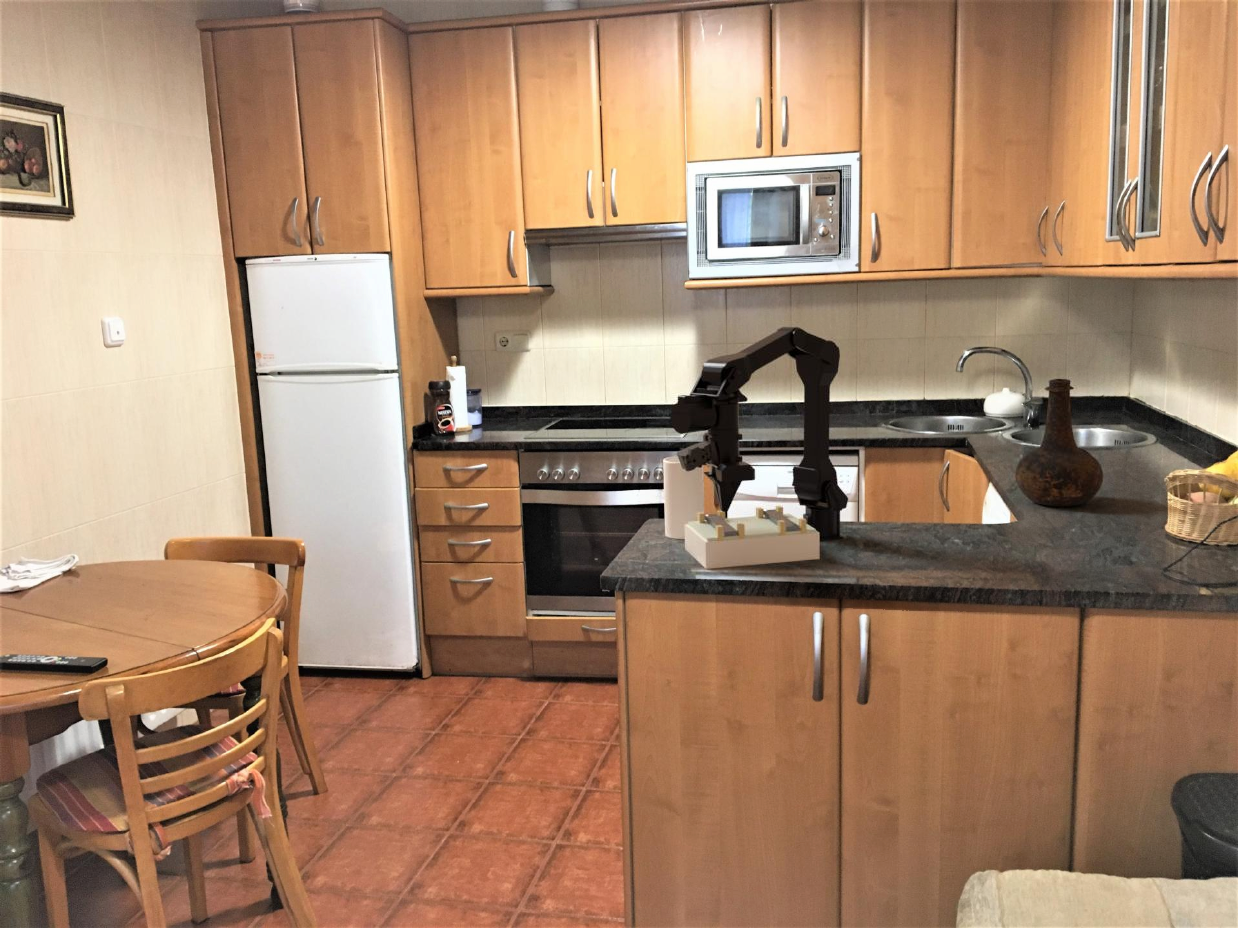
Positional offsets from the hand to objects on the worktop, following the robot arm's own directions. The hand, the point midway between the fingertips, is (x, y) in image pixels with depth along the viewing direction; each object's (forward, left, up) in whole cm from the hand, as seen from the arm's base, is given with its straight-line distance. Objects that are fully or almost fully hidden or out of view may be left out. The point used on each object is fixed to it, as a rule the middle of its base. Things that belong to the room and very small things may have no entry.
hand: (724, 511), depth 189 cm
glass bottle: (-85, -24, -10) cm, 89 cm away
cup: (+2, -23, -10) cm, 25 cm away
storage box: (-6, -4, -10) cm, 12 cm away
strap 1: (0, -3, -4) cm, 5 cm away
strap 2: (-12, -3, -4) cm, 13 cm away
